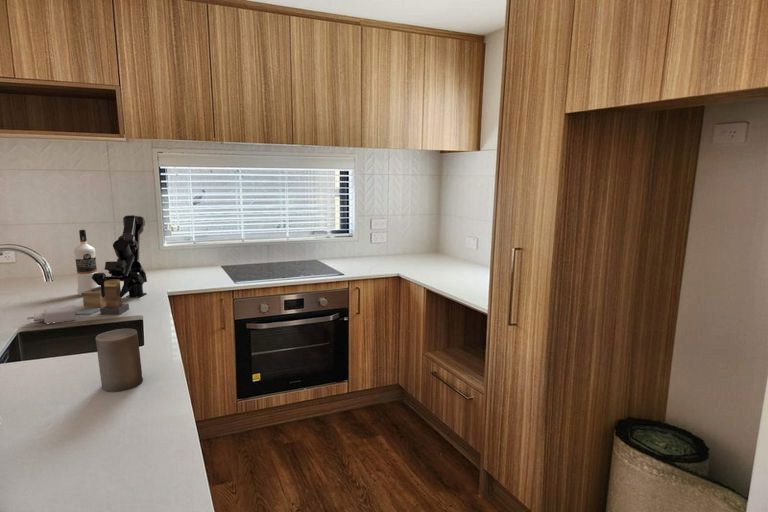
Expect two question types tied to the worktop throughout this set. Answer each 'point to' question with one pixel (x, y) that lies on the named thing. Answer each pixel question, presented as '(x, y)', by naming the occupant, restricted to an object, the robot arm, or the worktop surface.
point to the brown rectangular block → (113, 293)
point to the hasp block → (114, 310)
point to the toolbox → (93, 298)
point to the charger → (56, 314)
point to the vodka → (85, 264)
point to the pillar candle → (119, 359)
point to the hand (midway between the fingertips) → (111, 296)
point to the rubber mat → (87, 311)
